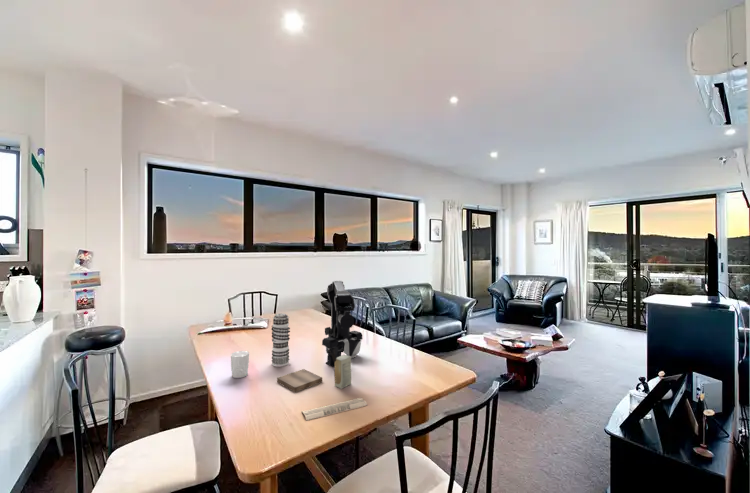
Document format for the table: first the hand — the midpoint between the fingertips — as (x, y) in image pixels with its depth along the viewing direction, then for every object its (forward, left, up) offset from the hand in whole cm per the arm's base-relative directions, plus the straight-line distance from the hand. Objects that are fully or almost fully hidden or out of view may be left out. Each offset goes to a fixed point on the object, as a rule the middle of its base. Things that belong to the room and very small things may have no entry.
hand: (342, 358), depth 140 cm
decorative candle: (+5, -42, -12) cm, 44 cm away
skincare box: (0, 0, -12) cm, 12 cm away
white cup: (+26, -42, -12) cm, 51 cm away
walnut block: (+11, -16, -12) cm, 23 cm away
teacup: (-29, -25, -12) cm, 40 cm away
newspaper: (+16, +14, -13) cm, 24 cm away
